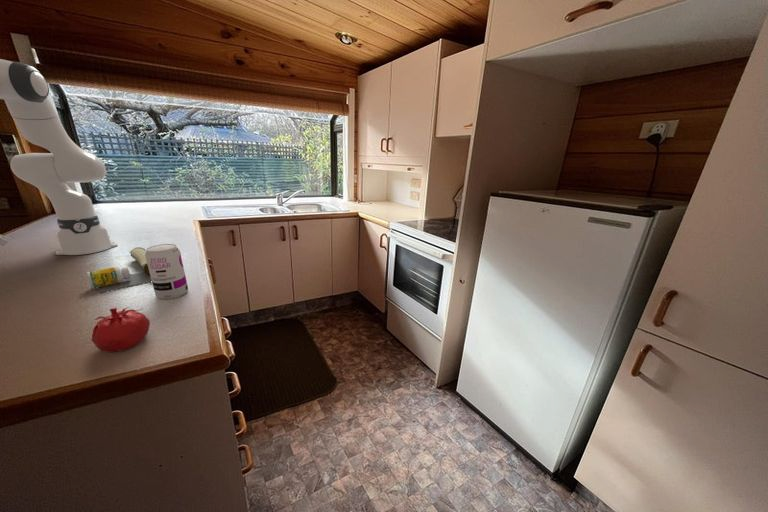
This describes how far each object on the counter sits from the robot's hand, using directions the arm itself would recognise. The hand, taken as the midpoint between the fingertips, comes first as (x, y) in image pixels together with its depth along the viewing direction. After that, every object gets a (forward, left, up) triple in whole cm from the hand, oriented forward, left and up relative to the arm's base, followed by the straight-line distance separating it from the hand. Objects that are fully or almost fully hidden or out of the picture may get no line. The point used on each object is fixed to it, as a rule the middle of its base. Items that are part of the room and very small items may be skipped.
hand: (7, 242), depth 77 cm
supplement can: (+20, +30, -18) cm, 40 cm away
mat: (0, +23, -18) cm, 29 cm away
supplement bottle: (+1, +12, -14) cm, 19 cm away
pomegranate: (+41, +17, -18) cm, 48 cm away
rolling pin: (-10, +27, -17) cm, 34 cm away
